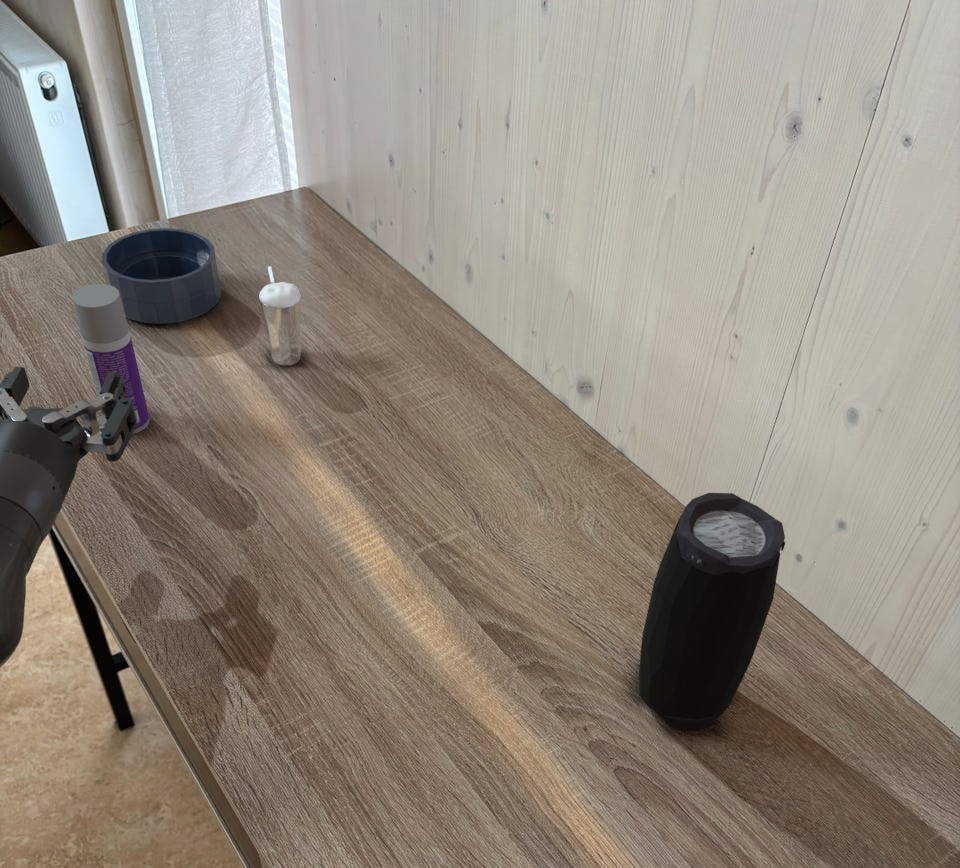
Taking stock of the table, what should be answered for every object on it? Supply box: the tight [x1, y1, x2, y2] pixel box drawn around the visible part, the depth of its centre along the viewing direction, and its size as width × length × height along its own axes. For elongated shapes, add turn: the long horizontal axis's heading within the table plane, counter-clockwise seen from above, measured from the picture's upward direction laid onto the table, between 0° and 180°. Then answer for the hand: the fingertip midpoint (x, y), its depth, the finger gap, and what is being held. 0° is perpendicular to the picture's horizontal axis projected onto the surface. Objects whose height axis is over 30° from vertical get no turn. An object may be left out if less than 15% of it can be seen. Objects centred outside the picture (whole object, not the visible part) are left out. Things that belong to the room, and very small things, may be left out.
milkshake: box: [258, 265, 302, 367], centre depth 119 cm, size 4×5×10 cm
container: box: [71, 283, 150, 435], centre depth 108 cm, size 5×5×15 cm
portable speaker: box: [638, 492, 786, 732], centre depth 83 cm, size 9×9×20 cm
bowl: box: [101, 227, 222, 325], centre depth 128 cm, size 13×13×6 cm
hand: (69, 377), depth 96 cm, fingers open, 8 cm apart
